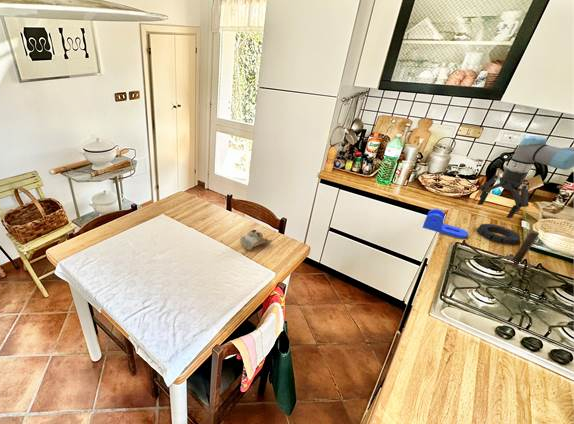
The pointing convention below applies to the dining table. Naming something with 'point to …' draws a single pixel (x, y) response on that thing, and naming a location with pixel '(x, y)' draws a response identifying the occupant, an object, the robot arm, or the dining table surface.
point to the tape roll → (509, 240)
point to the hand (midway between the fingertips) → (494, 210)
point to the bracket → (442, 224)
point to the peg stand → (523, 250)
